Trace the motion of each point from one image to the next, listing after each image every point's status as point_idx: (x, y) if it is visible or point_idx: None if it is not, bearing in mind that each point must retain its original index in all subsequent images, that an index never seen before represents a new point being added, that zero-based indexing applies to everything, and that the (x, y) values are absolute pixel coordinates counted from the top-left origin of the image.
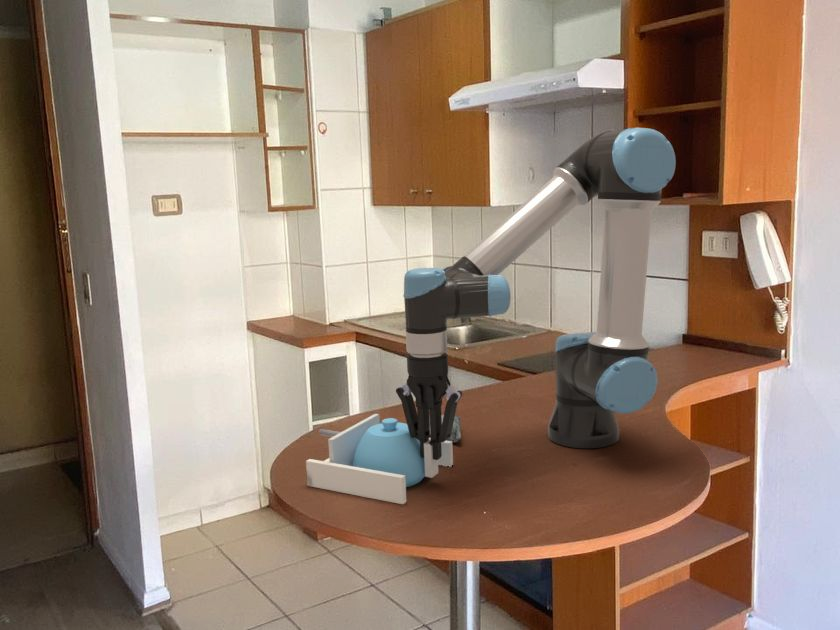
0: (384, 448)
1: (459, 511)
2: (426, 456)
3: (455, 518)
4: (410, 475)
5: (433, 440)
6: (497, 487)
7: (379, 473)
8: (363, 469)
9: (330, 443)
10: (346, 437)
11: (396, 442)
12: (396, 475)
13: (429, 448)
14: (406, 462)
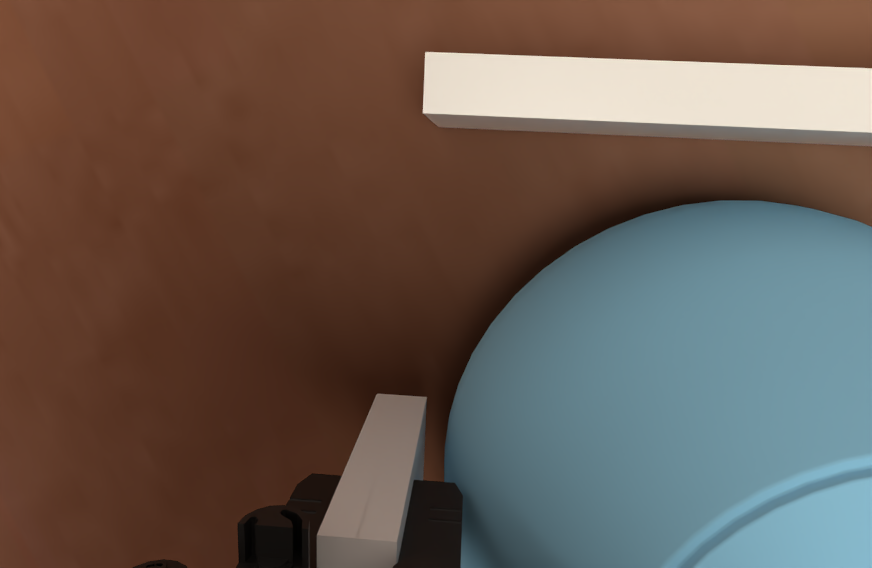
0: (781, 350)
1: (96, 122)
2: (391, 469)
3: (71, 24)
4: (494, 328)
5: (264, 565)
6: (67, 479)
7: (662, 70)
8: (851, 105)
9: None
10: None
11: (683, 459)
12: (495, 86)
13: (340, 509)
14: (529, 358)
